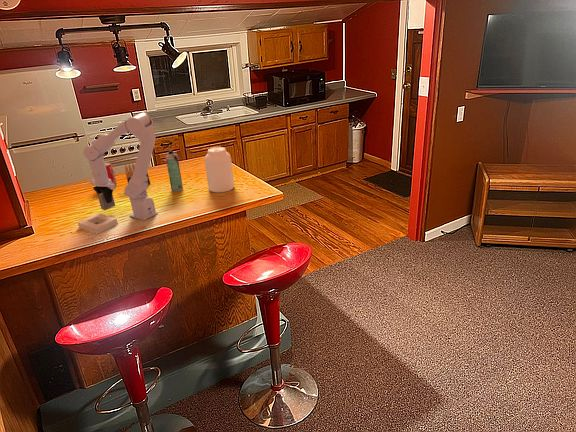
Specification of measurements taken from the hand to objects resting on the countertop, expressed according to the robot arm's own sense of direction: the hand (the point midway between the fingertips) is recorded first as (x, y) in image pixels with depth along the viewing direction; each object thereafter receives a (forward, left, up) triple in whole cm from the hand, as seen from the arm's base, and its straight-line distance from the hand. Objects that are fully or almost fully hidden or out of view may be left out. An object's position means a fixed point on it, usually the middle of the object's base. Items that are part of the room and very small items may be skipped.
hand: (107, 201), depth 185 cm
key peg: (0, 0, -3) cm, 3 cm away
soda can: (+29, -22, -6) cm, 37 cm away
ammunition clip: (+16, -30, -6) cm, 35 cm away
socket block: (-5, +10, -6) cm, 13 cm away
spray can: (-7, -34, -6) cm, 35 cm away
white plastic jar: (-26, -45, -6) cm, 52 cm away
